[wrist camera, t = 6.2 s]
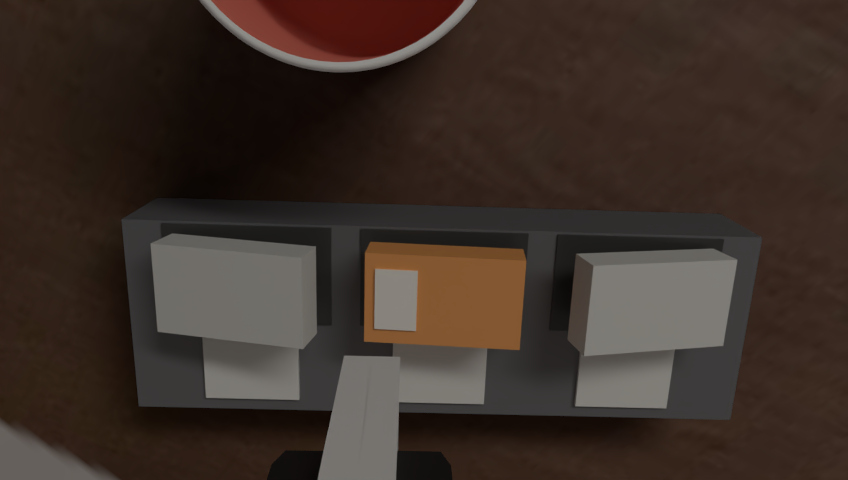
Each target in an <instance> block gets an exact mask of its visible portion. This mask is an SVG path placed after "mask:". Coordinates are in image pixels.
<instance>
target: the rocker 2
mask: <svg viewBox="0 0 848 480" xmlns="http://www.w3.org/2000/svg"><path fill="white" fill-rule="evenodd" d="M525 273H526V257H525V254H524V250H523V249H510V248H489V247H469V246H448V245H427V244H406V243H386V242H370V243H369V246H368V248H367V250H366V252H365V300H364V342H381V343H399V344H417V345H435V346H453V347H472V348H490V349H508V350H520V338H521V325H522V312H523V299H524V286H525Z"/></svg>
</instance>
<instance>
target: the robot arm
mask: <svg viewBox="0 0 848 480" xmlns="http://www.w3.org/2000/svg"><path fill="white" fill-rule="evenodd" d="M399 386H400V357H385V356H344V358H343V363H342V368H341V372H340V377H339V382H338V386H337V391H336V396H335V400H334V405H333V410H332V414H331V419H330V424H329V428H328V433H327V438H326V442H325V447H324V451H285V452H284V453H283V454H282V455H281V456H280V457H279V458H278V459H277V460H276V461H275V462H274V463H273V464H272V466H271V469H270V472H269V475H268V478H267V480H452V472H451V465H450V464H449V462H448V461H447V460H446V458H445V457H444V456H443V454H442V453H441V452H422V451H398V426H399Z"/></svg>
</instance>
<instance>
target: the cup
mask: <svg viewBox="0 0 848 480" xmlns="http://www.w3.org/2000/svg"><path fill="white" fill-rule="evenodd" d="M199 1H200V2H201V3H202V5H203V6H204V7H205V8H206V9H207V10H208V11H209V12H210V13H211V14H212V16H213V17H214V18H215V19H216V20H217V21H219V22H220V23H221V24H222V25H223V26H224V27H225V28H226V29H227V30H228V31H230V32H231V33H232V34H234V35H235V36H236V37H238V38H239V39H240V40H242V41H243V42H244V43H246V44H248V45H249V46H251V47H253V48H254V49H256V50H258V51H260V52H262V53H264V54H265V55H267V56H269V57H272V58H274V59H277V60H279V61H282V62H284V63H287V64H290V65H294V66H297V67H301V68H305V69H310V70H316V71H323V72H358V71H365V70H372V69H376V68H380V67H384V66H388V65H391V64H394V63H397V62H399V61H402V60H405V59H407V58H409V57H411V56H413V55H415V54H417V53H419V52H421V51H422V50H424V49H426V48H427V47H429V46H431V45H432V44H434V43H435V42H436V41H438V40H439V39H440V38H442V37H443V36H444V35H446V34H447V33H448V32H449V31H450V30H451V29H452V28H453V27H454V26H456V25H457V24H458V23H459V22H460V21H461V19H462V18H463V17H464V16H465V15H466V14H467V13H468V12H469V11H470V9H471V8H472V7H473V5H474V4H475V3H476V1H477V0H199Z"/></svg>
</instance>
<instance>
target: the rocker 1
mask: <svg viewBox="0 0 848 480" xmlns="http://www.w3.org/2000/svg"><path fill="white" fill-rule="evenodd" d="M151 256H152V268H153V281H154V293H155V305H156V317H157V330H158V332H163V333H172V334H180V335H189V336H197V337H205V338H214V339H222V340H230V341H239V342H247V343H255V344H264V345H272V346H280V347H289V348H297V349H304V348H305V346H306V345H307V344H308V343H309V342H310V341H311V340H312V338H313V337H314V336H315V335H316V334H317V305H316V246H305V245H294V244H283V243H272V242H261V241H250V240H239V239H228V238H217V237H206V236H195V235H184V234H173V233H172V234H170V235H168V236H166V237H163V238H161V239H159V240H157V241H155V242H153V243H151Z"/></svg>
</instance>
